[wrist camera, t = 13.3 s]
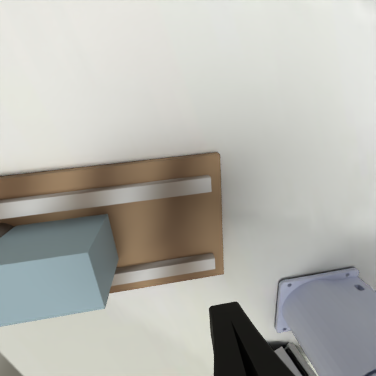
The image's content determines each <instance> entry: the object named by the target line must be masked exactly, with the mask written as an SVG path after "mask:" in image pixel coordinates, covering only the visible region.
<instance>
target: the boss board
mask: <svg viewBox="0 0 376 376" xmlns="http://www.w3.org/2000/svg"><path fill="white" fill-rule="evenodd" d="M102 214H108V217H109V221H110V226H111V230H112V234H113V238H114V242H115V246H116V250H117V254H118V258H119V260H118V263H117V267H116V270H115V274H114V278H113V281H112V285H111V288H110V292H109V293H114V292H120V291H126V290H132V289H138V288H144V287H150V286H156V285H162V284H168V283H174V282H180V281H186V280H192V279H197V278H203V277H209V276H215V275H221V274H224V267H223V235H222V202H221V170H220V154H219V153H217V152H214V153H205V154H196V155H187V156H178V157H169V158H161V159H152V160H143V161H134V162H125V163H116V164H107V165H98V166H89V167H80V168H71V169H62V170H53V171H44V172H35V173H26V174H17V175H8V176H0V238H1V237H2V236H3V235H5V234H6V233H7V232H8V231H10V230H11V229H12V228H13V227H15V226H18V225H26V224H33V223H41V222H49V221H56V220H64V219H71V218H79V217H87V216H94V215H102Z"/></svg>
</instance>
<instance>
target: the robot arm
mask: <svg viewBox="0 0 376 376" xmlns="http://www.w3.org/2000/svg"><path fill="white" fill-rule="evenodd" d="M358 275H359V270H358V269H356V268H350V269H344V270H338V271H333V272H327V273H321V274H316V275H310V276H304V277H299V278H293V279H287V280H282V281H281V282H280V283H279V291H278V303H277V314H276V325H275V329H276V331H277V332H278V333H281V332H286V331H292V333H293V334H294V336H295V337H296V339H297V341H298V342H299V344H300V346H301V347H302V349H303V351H304V352H305V354H306V356H307V357H308V359H309V360H310V362H311V364H312V365H313V367H314V369H315V370H316V372H317V374H318V375H319V376H376V291H375V290H374V289H372V288H371V287H370V286H369V285H368V284H366V283H365V282H364V281H363V280H361V279H360V278H359V277H358ZM209 315H210V330H211V338H212V344H213V351H214V376H295V375H294V374H293V372H292V371H291V370H290V369H289V368H288V367H287V366H286V364H285V363H284V362H283V361H282V360H281V359H280V357H279V356H278V355H277V354H276V353H275V352H274V350H273V349H272V348H271V347H270V345H269V344H268V343H267V342H266V340H265V339H264V338H263V337H262V335H261V334H260V333H259V332H258V330H257V329H256V328H255V326H254V325H253V323H252V322H251V321H250V319H249V318H248V317H247V315H246V314H245V312H244V311H243V309H242V308H241V306H240V305H239V303H238V302H231V303H226V304H220V305H215V306H211V307H210V308H209Z"/></svg>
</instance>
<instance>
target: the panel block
mask: <svg viewBox="0 0 376 376" xmlns="http://www.w3.org/2000/svg"><path fill="white" fill-rule="evenodd" d="M118 260H119V258H118V254H117V250H116V246H115V242H114V238H113V234H112V230H111V226H110V221H109V217H108V214H102V215H94V216H87V217H79V218H71V219H64V220H56V221H49V222H41V223H33V224H26V225H18V226H15V227H13V228H12V229H11V230H10V231H8V232H7V233H6V234H5V235H3V236H2V237H1V238H0V327H1V326H7V325H13V324H18V323H24V322H30V321H36V320H41V319H47V318H53V317H59V316H65V315H70V314H76V313H82V312H88V311H93V310H99V309H105V306H106V303H107V299H108V296H109V292H110V288H111V285H112V281H113V278H114V274H115V270H116V267H117V263H118Z"/></svg>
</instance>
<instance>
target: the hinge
mask: <svg viewBox="0 0 376 376" xmlns="http://www.w3.org/2000/svg"><path fill="white" fill-rule="evenodd" d="M274 352H275V353H276V354H277V355H278V356H279V357H280V359H281V360H282V361H283V362H284V363H285V364H286V366H287V367H288V368H289V369H290V370H291V371H292V372H293V374H294V375H295V376H317V375H316V374H315V373H314V371H313V370H312V368H311V367H310V366H309V364H308V363H307V362H306V360H305V359H304V357H303V356H302V355H301V353H300V352H299V351H298V349H297V348H296V346H295V345H294V344H293V343H288V344H287V346H286V347H285V349H283V347H280V348H278V349H277V350H275V351H274Z"/></svg>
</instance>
